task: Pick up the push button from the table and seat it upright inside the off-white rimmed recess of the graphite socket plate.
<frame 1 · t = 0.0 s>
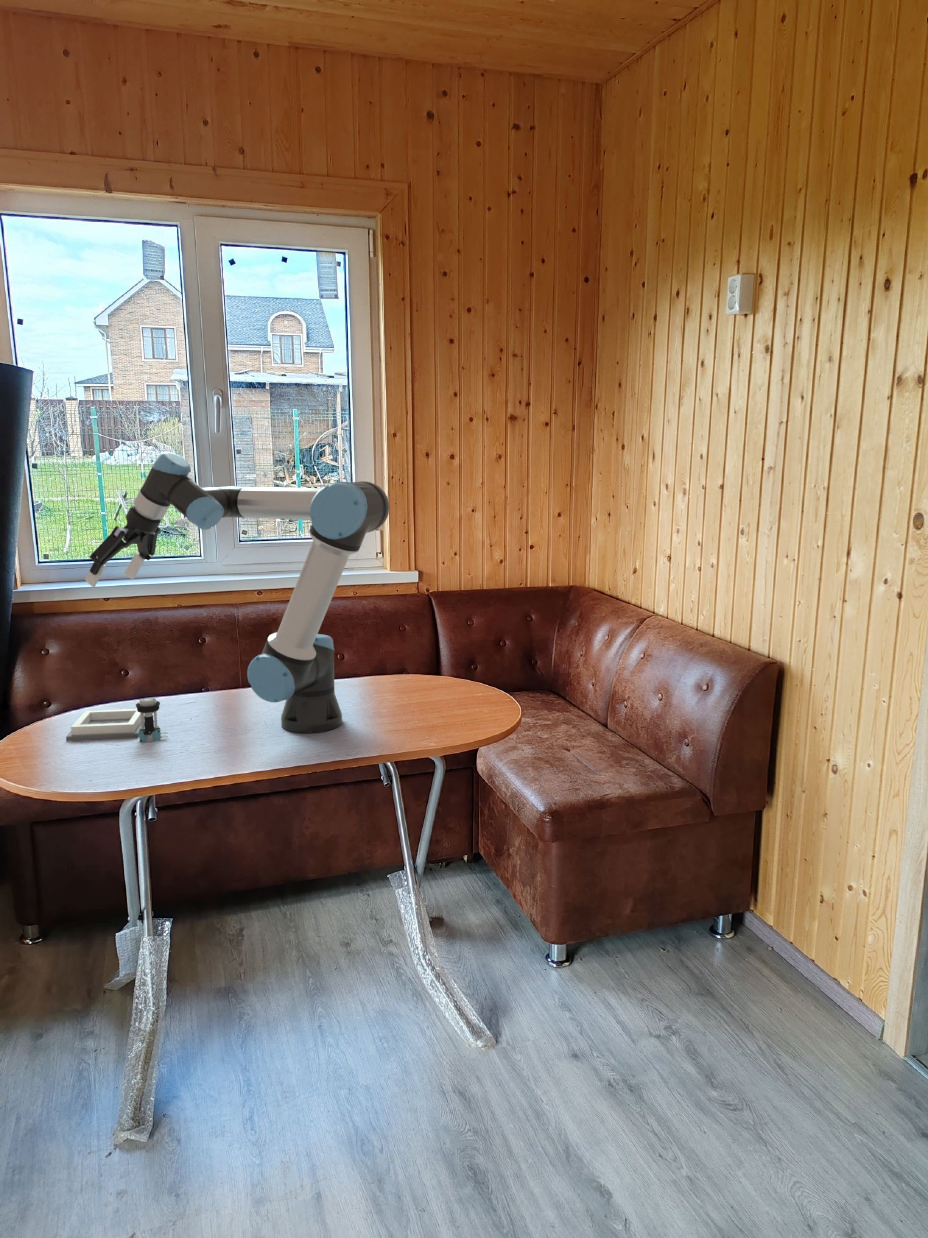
hand: (109, 579, 209), 36 cm above the table, tool tilted 35°, fingers open, 13 cm apart
push button: (153, 741, 200), on the table
socket plate: (109, 729, 208), on the table
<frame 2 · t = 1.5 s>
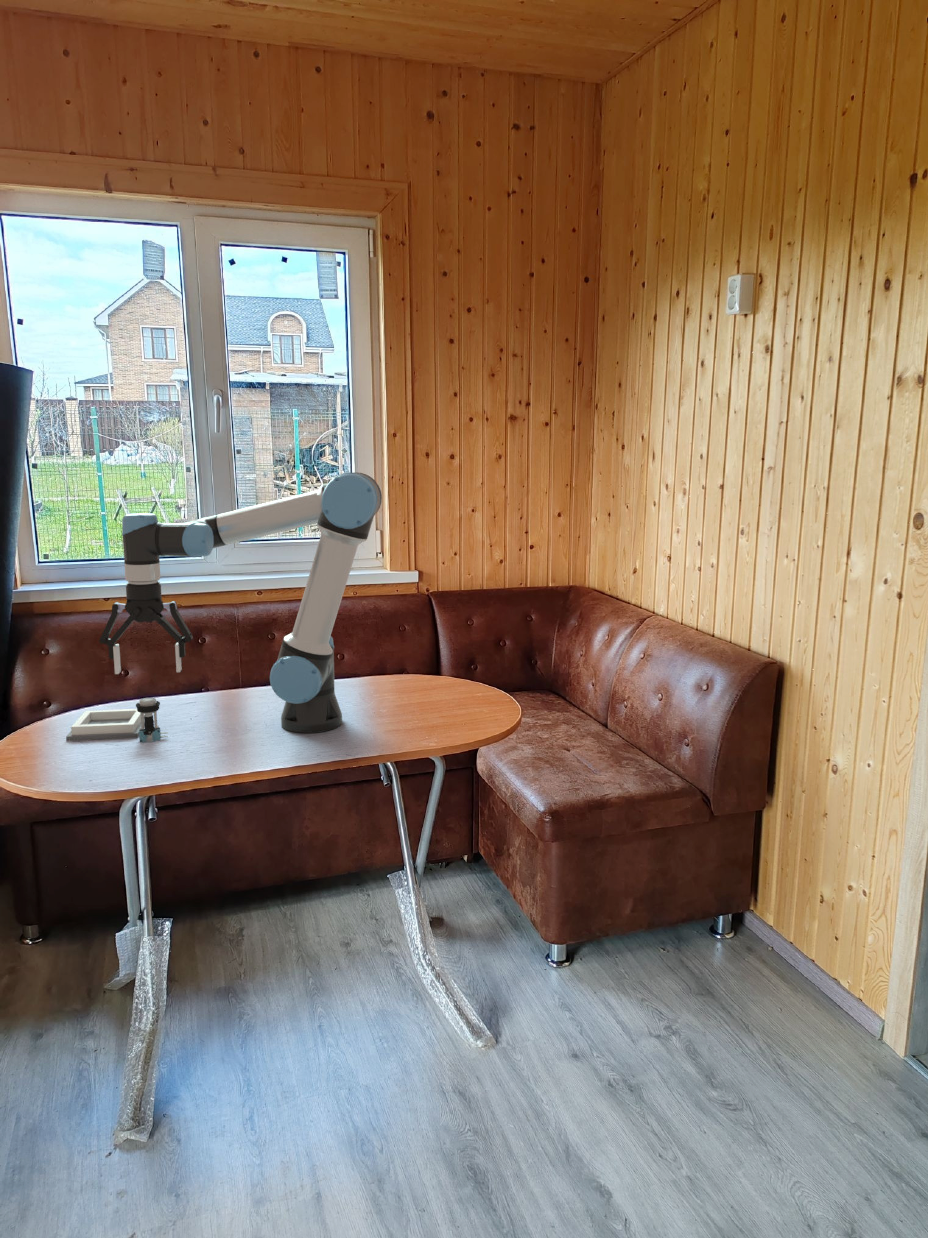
hand: (148, 672, 197), 17 cm above the table, tool pointing down, fingers open, 13 cm apart
nothing on the table moved.
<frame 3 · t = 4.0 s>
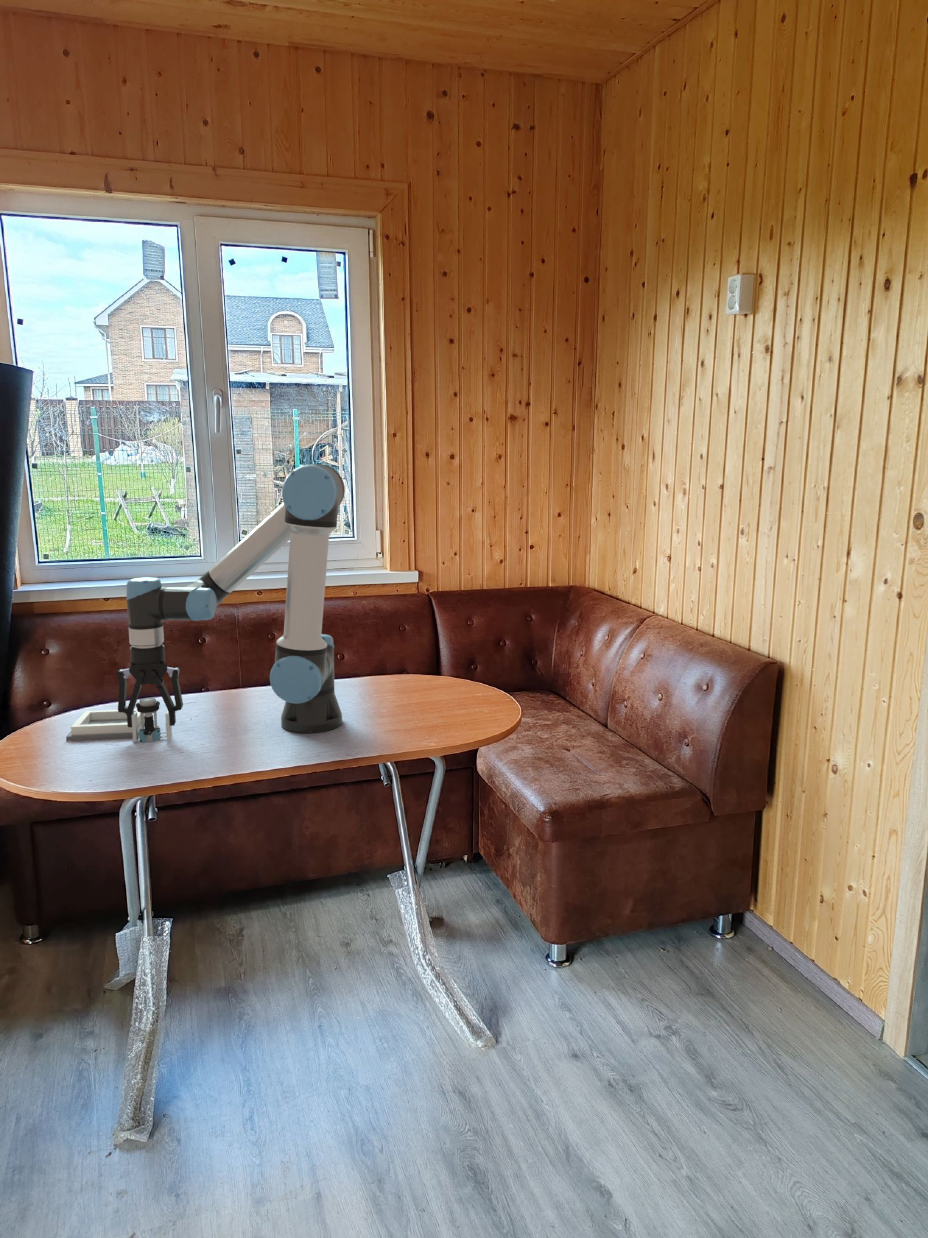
hand: (152, 739, 200), 0 cm above the table, tool pointing down, fingers open, 7 cm apart
push button: (153, 741, 200), on the table, touching gripper
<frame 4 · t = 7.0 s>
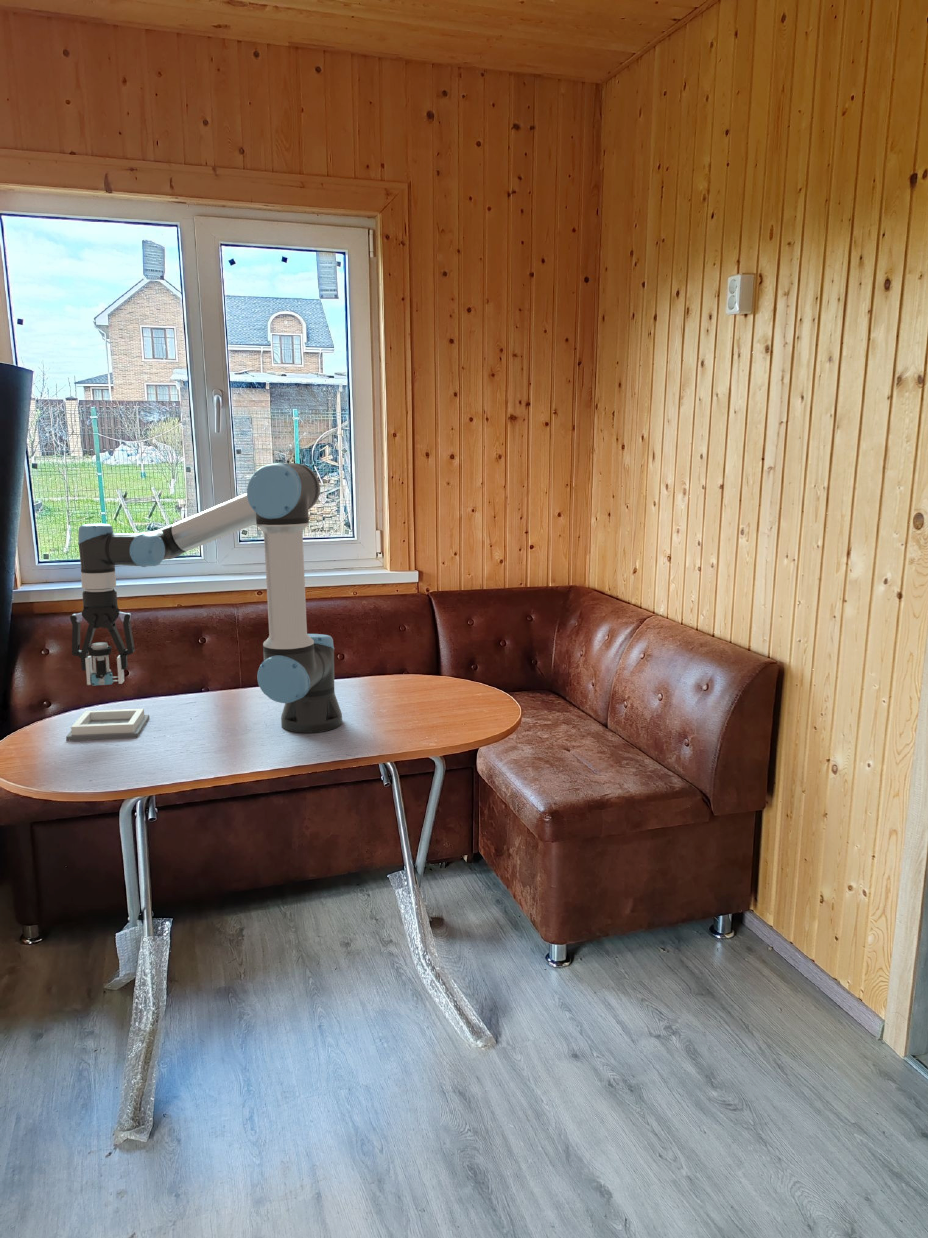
hand: (105, 682, 205), 12 cm above the table, tool pointing down, fingers closed on push button, 6 cm apart
push button: (105, 684, 206), point 11 cm above the table, touching gripper
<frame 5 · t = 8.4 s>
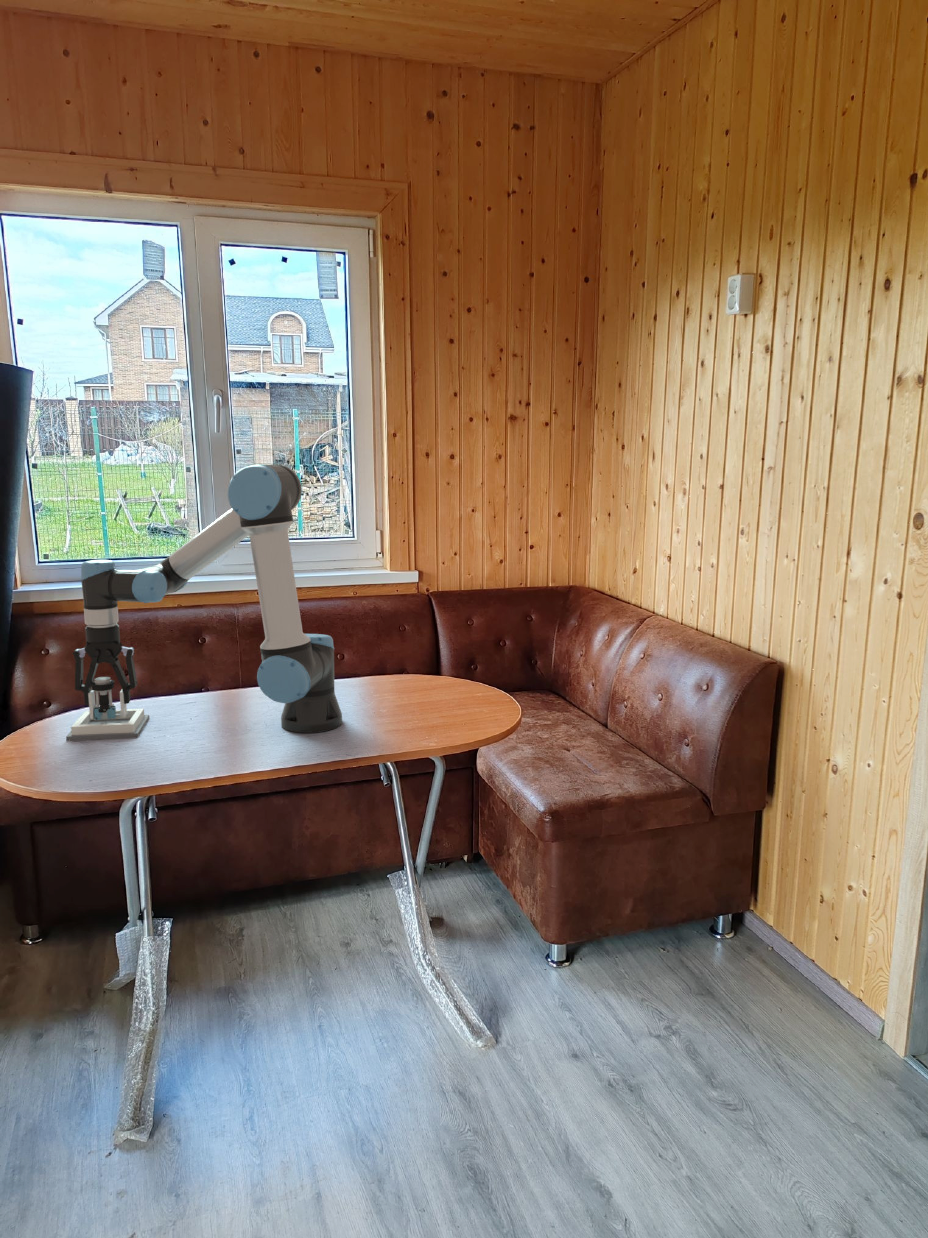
hand: (108, 716, 207), 3 cm above the table, tool pointing down, fingers closed on push button, 6 cm apart
push button: (108, 718, 207), point 3 cm above the table, touching gripper
when the fingers open (3 cm above the table, at t = 9.2 s): push button drops 1 cm, resting on socket plate.
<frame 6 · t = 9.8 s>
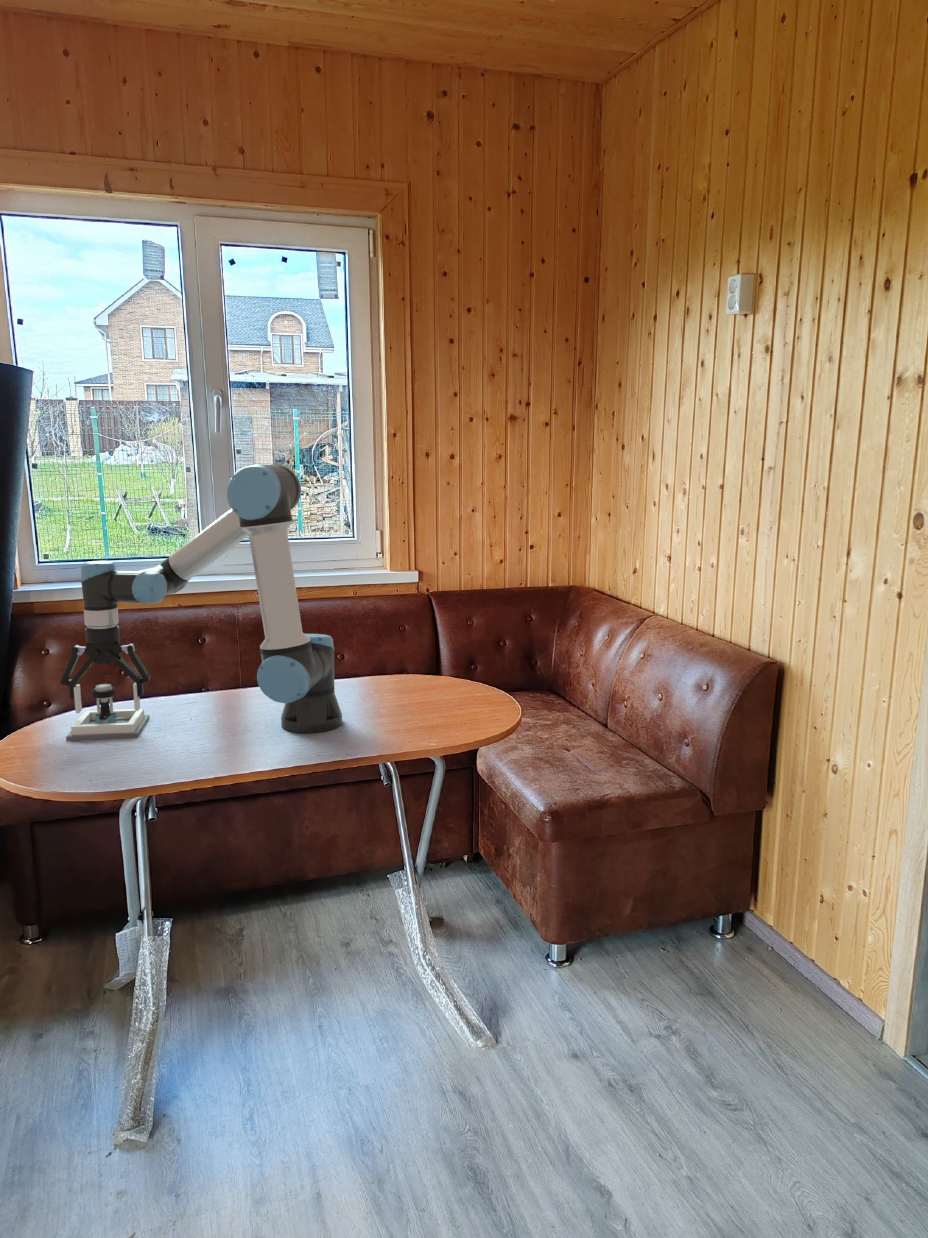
hand: (108, 710, 207), 5 cm above the table, tool pointing down, fingers open, 13 cm apart
push button: (109, 725, 207), point 1 cm above the table, touching socket plate
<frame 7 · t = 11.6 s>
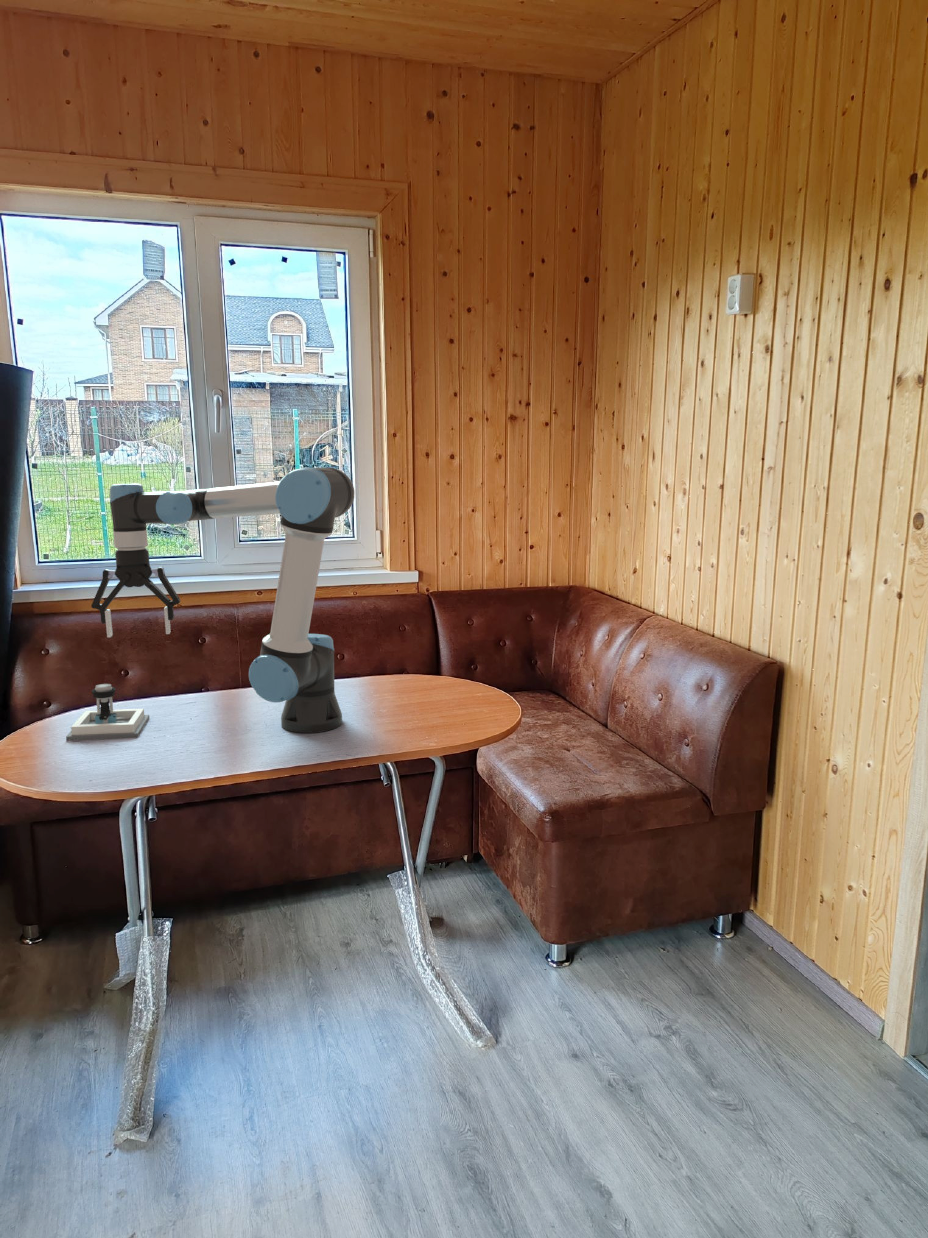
hand: (139, 634, 208), 23 cm above the table, tool pointing down, fingers open, 13 cm apart
nothing on the table moved.
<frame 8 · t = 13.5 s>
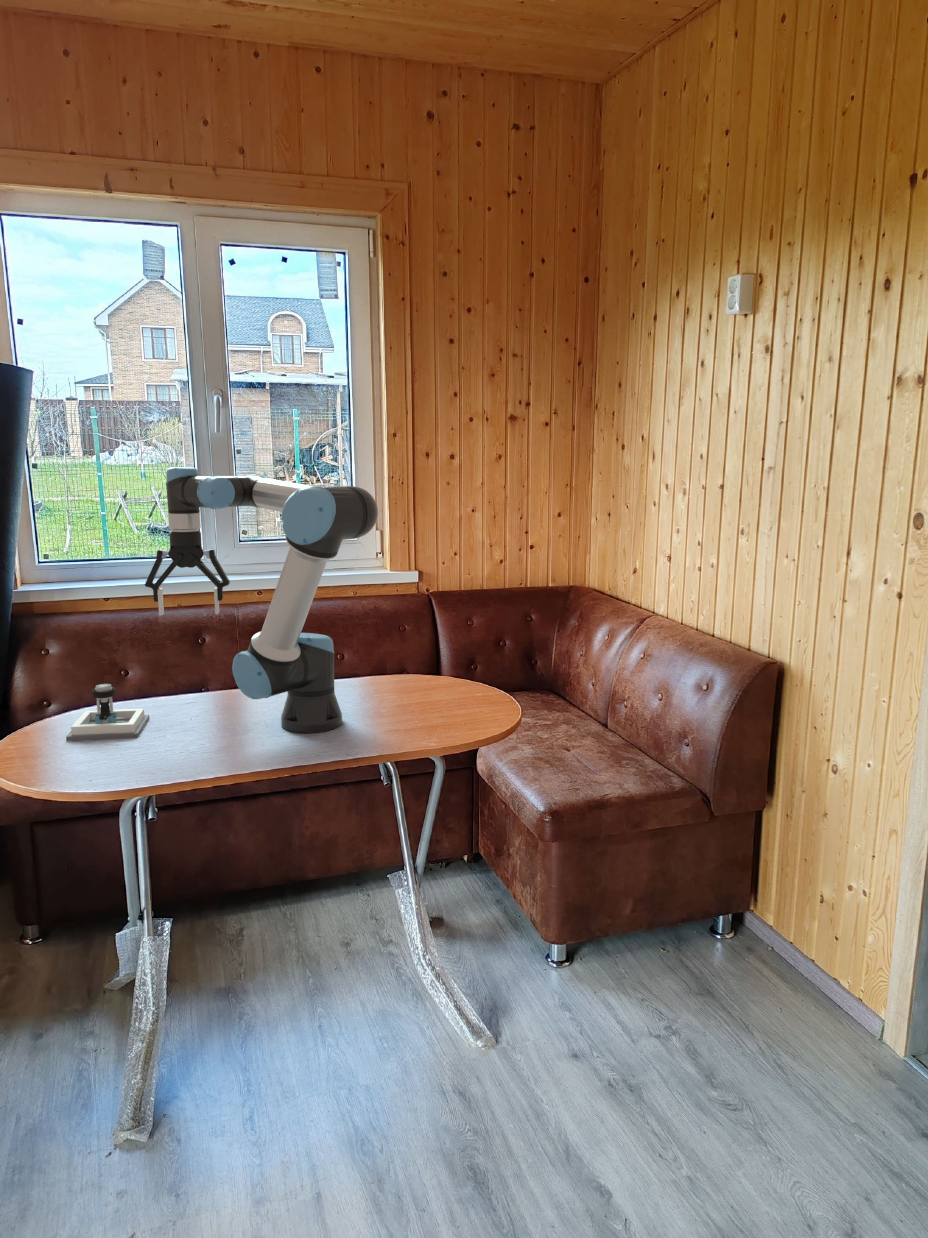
hand: (189, 614, 215), 27 cm above the table, tool pointing down, fingers open, 13 cm apart
nothing on the table moved.
at the end: push button inside the target area on the socket plate (0.0 cm from its centre), point 0.9 cm above the socket plate's base; push button tilted 0°; the gripper is holding nothing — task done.
